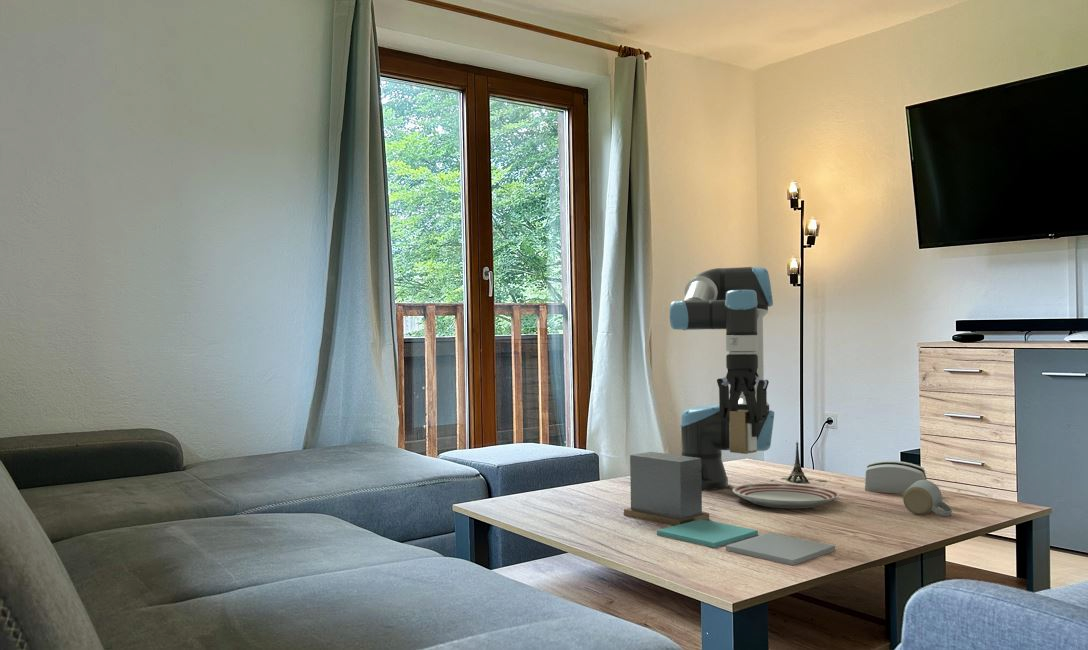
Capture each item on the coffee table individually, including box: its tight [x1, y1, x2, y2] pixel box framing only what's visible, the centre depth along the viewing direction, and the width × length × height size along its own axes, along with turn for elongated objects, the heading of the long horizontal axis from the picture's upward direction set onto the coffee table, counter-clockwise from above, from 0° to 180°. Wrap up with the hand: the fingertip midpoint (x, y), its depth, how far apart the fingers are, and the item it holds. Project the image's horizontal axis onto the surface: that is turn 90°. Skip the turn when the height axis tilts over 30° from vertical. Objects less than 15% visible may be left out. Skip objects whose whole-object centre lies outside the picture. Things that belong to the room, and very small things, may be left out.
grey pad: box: [725, 532, 836, 566], centre depth 180 cm, size 16×16×1 cm
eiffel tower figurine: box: [769, 441, 829, 484], centre depth 259 cm, size 15×10×13 cm
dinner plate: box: [732, 482, 840, 509], centre depth 230 cm, size 28×27×3 cm
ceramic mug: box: [902, 479, 953, 517], centre depth 213 cm, size 11×8×8 cm
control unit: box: [623, 451, 710, 526], centre depth 213 cm, size 18×11×15 cm, turn 42°
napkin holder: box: [864, 460, 928, 495], centre depth 240 cm, size 17×5×10 cm, turn 58°
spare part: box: [729, 410, 757, 455], centre depth 209 cm, size 4×4×10 cm
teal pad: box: [656, 519, 759, 548], centre depth 195 cm, size 16×16×1 cm
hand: (743, 449), depth 209 cm, fingers closed on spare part, 4 cm apart
